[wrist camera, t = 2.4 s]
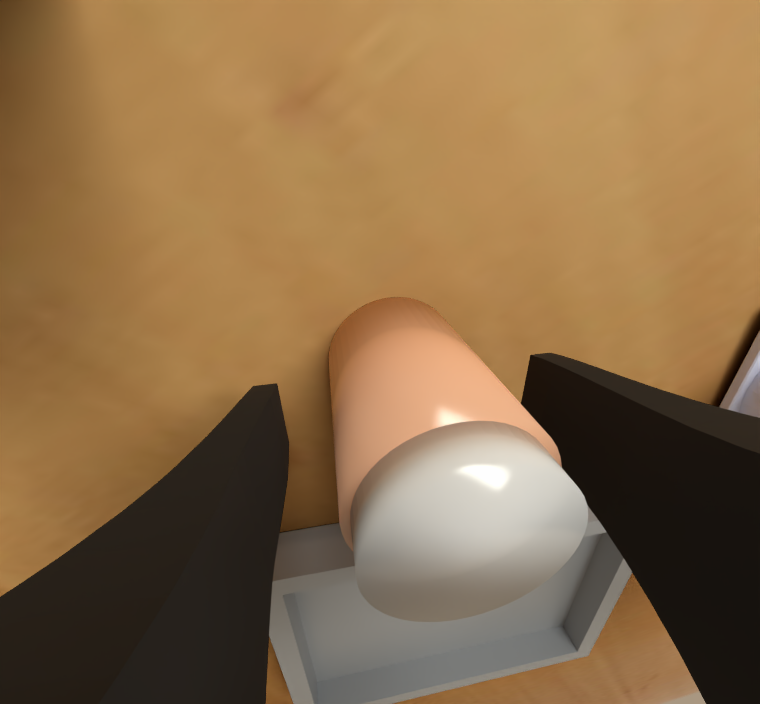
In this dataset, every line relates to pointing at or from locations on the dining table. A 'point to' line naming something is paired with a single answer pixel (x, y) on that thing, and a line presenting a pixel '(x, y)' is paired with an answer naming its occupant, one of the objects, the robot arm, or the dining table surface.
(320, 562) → the tray
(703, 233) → the dining table surface
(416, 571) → the shaker
